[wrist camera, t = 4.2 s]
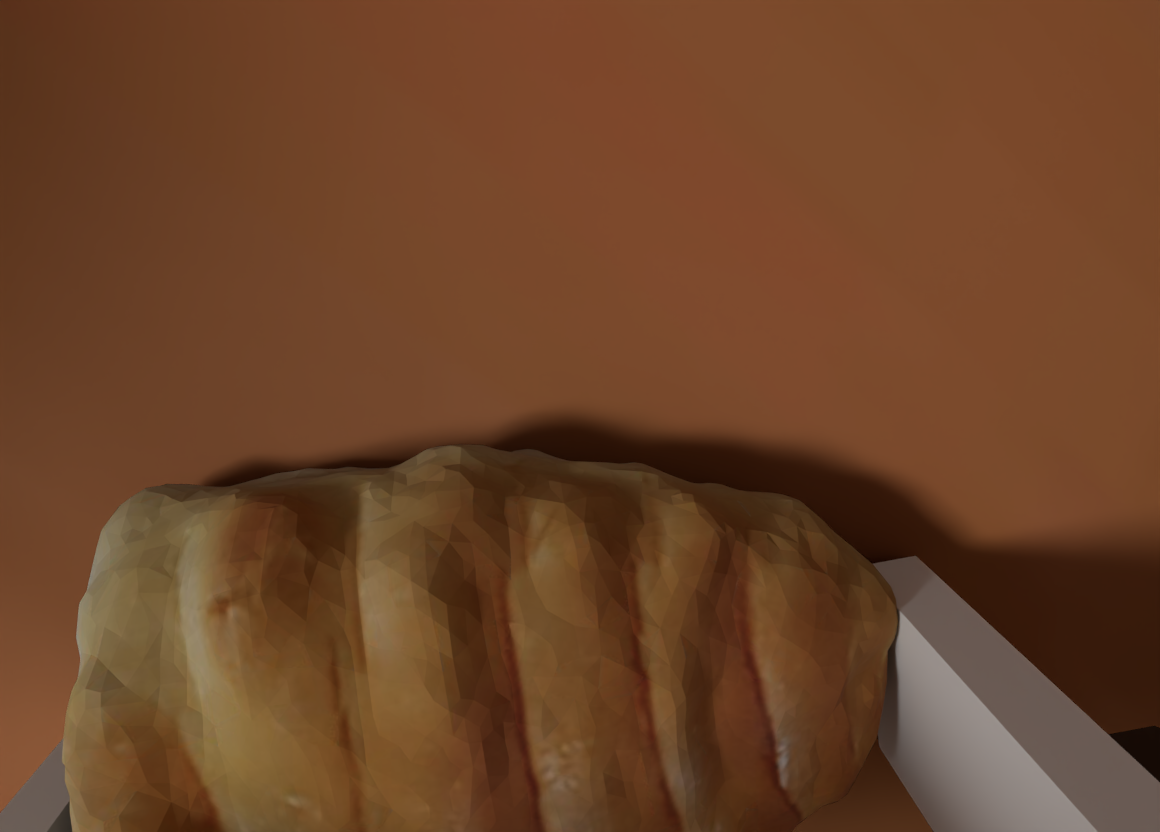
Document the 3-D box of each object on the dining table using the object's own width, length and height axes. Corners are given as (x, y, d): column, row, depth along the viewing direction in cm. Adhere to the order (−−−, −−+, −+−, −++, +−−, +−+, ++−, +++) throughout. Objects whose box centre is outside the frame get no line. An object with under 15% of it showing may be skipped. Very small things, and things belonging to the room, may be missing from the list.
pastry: (832, 353, 12) (969, 430, 9) (871, 802, 14) (999, 1030, 10) (102, 473, 12) (-84, 604, 8) (231, 915, 14) (124, 1188, 10)
